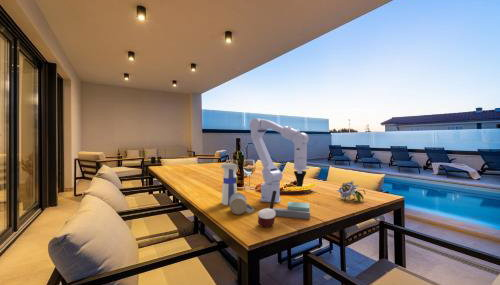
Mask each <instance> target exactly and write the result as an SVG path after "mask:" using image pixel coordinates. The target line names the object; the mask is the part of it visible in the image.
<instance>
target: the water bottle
mask: <svg viewBox="0 0 500 285" xmlns="http://www.w3.org/2000/svg"><path fill="white" fill-rule="evenodd" d="M236 156H237V158H239V153H238V152H237V154H236ZM221 168H222V169H223V174H222V178H223V180H222V185H221V186H222V188H221V189H222V190H221V191H222V192H221V193H222V194H221V204H222V205H224V206H230V203H229V200H230V197H231V196H232V195H233V194H235V193H238V191H237V190H238V189H237V188H238V186H237V184H238V175H237V173H236V172H237V168H238V164H236V163H234V162H233V163H232V162H231V163H230V162H228V163H227V162H224V163H222V164H221Z"/></svg>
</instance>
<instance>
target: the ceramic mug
mask: <svg viewBox="0 0 500 285" xmlns="http://www.w3.org/2000/svg"><path fill="white" fill-rule="evenodd" d="M229 203H230V205H229V209H230V212H232V213H233V214H235V215H237V216H239V215H240V216H241V215H243V214H245V212H246V213H250V214H252V213H253V212H254V211H255V209H254V207H253V206H252V205H250V204H248V203H247V198H246V195H245V194H243V193H240V192H237V193H235V194H233V195H232V196H231V197H230V200H229Z"/></svg>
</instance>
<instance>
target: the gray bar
mask: <svg viewBox="0 0 500 285" xmlns="http://www.w3.org/2000/svg"><path fill="white" fill-rule="evenodd" d="M273 209H274V210H275V213H276V215H275V217H281V218H282V217H284V218H294V219H303V220H304V219H306V220H311V211H310V210H309V211H304V210H293V209H287V208H282V207H280V208H279V207H273Z"/></svg>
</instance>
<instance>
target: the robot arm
mask: <svg viewBox="0 0 500 285" xmlns="http://www.w3.org/2000/svg"><path fill="white" fill-rule="evenodd" d="M249 129H250V138H251V141H252V143H253V146H254V148H255V150H256V153H257V155H258V157H259V160H260V162H261V164H262V167H263V168H262V170H261V173H262V178H263V182H262V183H261V187H260V202H265V203H271V198H272V193H273V191H276V197H275V201H274V203H277V204H279V203H280V202H281V200H282V197H280V193H281V191H280V187H281V186H280V185H281V184H280V183H281V181H282V179H283V173H282V171H281V170H280V169H279V168H278V166H277V165H276V164H274V162H273V160H272V158H271V155H270V153H269V151H268V149H267V145H266V144H265V141H264V138H263V136H264V134H265V133H266V132H267V130H269V129H270V130H272V131H274V132H277V133H280V135H281V137H282V138H285V140H286V139H287V140H289V141H291V142H292V143H293V144H294V152H293V153H294V154H293V157H294V160H293V161H294V162H293V169H294V170H295V171H293V173H294V176H295V181H296V186H297V187H300V188H301V187H303V184H304V180H305V177H306V175H307V170H309V169H310V167H309V166H308V167H307V164H308V163H307V161H308V160H307V157H308V156H307V154H308V142H309V141H310V137H309V135H308V134H307V133H305V132H303V131H302V132H301V130H299V129H295V128H292V126H290V125H288V126H287V125H286V126H282V125H279V124H278V123H277V122H274V121H272V120H269V119H265V118H257V117H254V118H252V119H251V121H250V122H249Z"/></svg>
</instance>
